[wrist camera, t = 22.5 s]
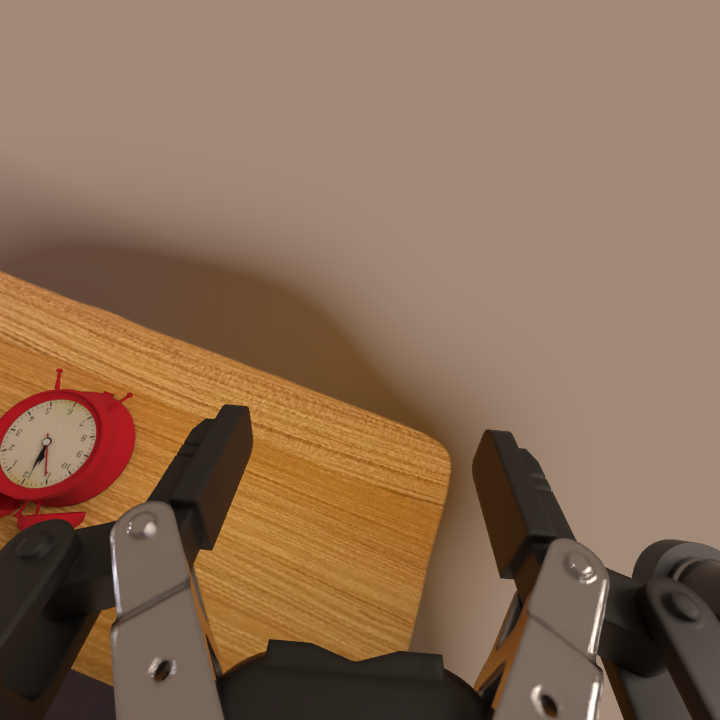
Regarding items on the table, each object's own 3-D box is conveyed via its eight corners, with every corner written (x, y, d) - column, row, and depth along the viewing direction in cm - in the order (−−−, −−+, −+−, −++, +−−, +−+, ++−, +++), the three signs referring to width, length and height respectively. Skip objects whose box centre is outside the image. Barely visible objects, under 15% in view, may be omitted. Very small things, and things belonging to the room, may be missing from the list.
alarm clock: (145, 392, 31) (4, 579, 23) (167, 419, 36) (58, 580, 28) (40, 356, 31) (-138, 528, 23) (76, 389, 37) (-59, 539, 28)
